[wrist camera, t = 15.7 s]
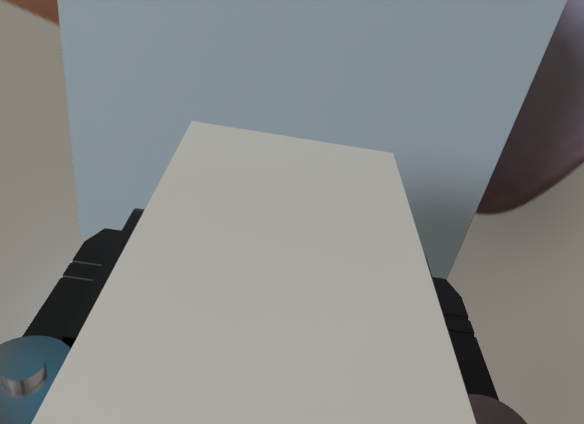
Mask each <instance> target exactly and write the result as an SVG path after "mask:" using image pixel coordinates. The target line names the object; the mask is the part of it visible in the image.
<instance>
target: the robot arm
mask: <svg viewBox="0 0 584 424" xmlns="http://www.w3.org/2000/svg"><path fill="white" fill-rule="evenodd" d="M144 210H145V209H139V208H135V209H134V210H133V211H132V213H131V215H130V217H129V218H128V220H127V222H126V224H125V225H124V227H123V229H122V231H121V230H114V229H107V228H104V229H103V230H101V231H100V232H98V233H97V234H95V235H94V236H92V237H91V238H89V239H88V240H86V241H85V242H84V243H83V245H82V246H81V248H80V249H79V251H78V252H77V254H76V256H75V257H74V259H73V262H72V263H70V265H69V266H68V268H67V269H66V271H65V272H64V274H63V278H61V279H60V280H59V281H58V283H57V284H56V286H55V287H54V289H53V291H52V292H51V294H50V295H49V297H48V298H47V300H46V301H45V303H44V304H43V306H42V307H41V309H40V310H39V312H38V313H37V315H36V316H35V318H34V320H33V321H32V323H31V324H30V326H29V327H28V329H27V330H26V332H25V333H24V335H23V336H22V337H20V338H16V339H12V340H10V341H7V342H4V343H2V344H0V424H31V423H32V421H33V420H34V418H35V416H36V414H37V412H38V410H39V408H40V406H41V404H42V403H43V401H44V399H45V397H46V395H47V393H48V391H49V389H50V387H51V386H52V384H53V382H54V380H55V378H56V376H57V374H58V372H59V371H60V369H61V367H62V365H63V363H64V361H65V359H66V357H67V355H68V354H69V352H70V350H71V348H72V346H73V344H74V342H75V340H76V338H77V337H78V335H79V333H80V331H81V329H82V327H83V325H84V323H85V321H86V320H87V318H88V316H89V314H90V312H91V310H92V308H93V306H94V304H95V303H96V301H97V299H98V297H99V295H100V293H101V291H102V289H103V288H104V286H105V284H106V282H107V280H108V278H109V276H110V274H111V272H112V271H113V269H114V267H115V265H116V263H117V261H118V259H119V257H120V255H121V254H122V252H123V250H124V248H125V246H126V244H127V242H128V240H129V238H130V237H131V235H132V233H133V231H134V229H135V227H136V225H137V223H138V221H139V220H140V218H141V216H142V214H143V212H144ZM424 255H425V253H424ZM425 258H426V255H425ZM426 262H427V265H428V268H429V264H428V261H427V258H426ZM429 271H430V268H429ZM430 275H431V278H432V281H433V284H434V288H435V291H436V294H437V297H438V301H439V304H440V307H441V310H442V314H443V317H444V320H445V323H446V327H447V330H448V333H449V336H450V340H451V343H452V346H453V349H454V353H455V356H456V359H457V362H458V366H459V369H460V372H461V375H462V379H463V382H464V385H465V388H466V392H467V395H468V398H469V401H470V405H471V408H472V411H473V414H474V418H475V421H476V424H527V423H526V422H525V421H524V420H523V418H522V417H521V416H520V415H518V413H516V412H515V411H514V410H513V409H511V408H510V407H509V406H507V405H506V404H504V403H502V402H500V401H499V399H498V396H497V393H496V391H495V388H494V385H493V382H492V380H491V377H490V375H489V372H488V369H487V366H486V363H485V361H484V358H483V355H482V352H481V350H480V347H479V345H478V342H477V339H476V337H474V331H473V328H472V325H471V322H470V321H468V314H467V312H466V309H465V306H464V303H463V301H462V298H461V296H460V295H459V294H458V293H457V292H456V291H455V289H454V288H453V287H452V286H451V285H450V284H449V283H448V282H447V280H446V279H443V278H436V277H432V274H431V271H430Z"/></svg>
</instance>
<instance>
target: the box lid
mask: <svg viewBox="0 0 584 424" xmlns="http://www.w3.org/2000/svg"><path fill="white" fill-rule="evenodd" d="M57 1H58V12H59V22H60V31H61V43H62V52H63V64H64V73H65V85H66V94H67V105H68V116H69V127H70V137H71V147H72V158H73V168H74V178H75V189H76V199H77V210H78V221H79V231H80V236H84V237H92V236H94V235H95V234H97V233H98V232H100V231H101V230H103V229H104V228H107V229H114V230H121V231H122V229H123V227H124V225H125V224H126V222H127V220H128V218H129V217H130V215H131V213H132V211H133V210H134V209H135V208H139V209H145V208H146V206H147V205H148V203H149V201H150V199H151V197H152V195H153V193H154V191H155V189H156V188H157V186H158V184H159V182H160V180H161V178H162V176H163V174H164V172H165V171H166V169H167V167H168V165H169V163H170V161H171V159H172V157H173V155H174V154H175V152H176V150H177V148H178V146H179V144H180V142H181V140H182V138H183V137H184V135H185V133H186V131H187V129H188V127H189V125H190V123H191V122H192V121H196V122H202V123H208V124H215V125H221V126H227V127H233V128H240V129H246V130H252V131H259V132H265V133H271V134H277V135H284V136H290V137H296V138H302V139H309V140H315V141H321V142H327V143H334V144H340V145H346V146H353V147H359V148H365V149H371V150H378V151H384V152H390V153H393V154H394V158H395V161H396V164H397V167H398V171H399V174H400V177H401V180H402V184H403V187H404V190H405V193H406V197H407V200H408V203H409V206H410V210H411V213H412V216H413V219H414V223H415V226H416V229H417V232H418V236H419V239H420V242H421V245H422V249H423V252H424V253H425V255H426V258H427V261H428V264H429V268H430V271H431V274H432V277H436V278H443V279H447V277H448V275H449V273H450V270H451V268H452V266H453V263H454V261H455V259H456V256H457V254H458V252H459V249H460V247H461V245H462V242H463V240H464V238H465V236H466V233H467V231H468V229H469V226H470V224H471V222H472V219H473V217H474V215H475V212H476V210H477V208H478V205H479V203H480V201H481V199H482V196H483V194H484V192H485V189H486V187H487V185H488V182H489V180H490V178H491V175H492V173H493V171H494V168H495V166H496V164H497V162H498V159H499V157H500V155H501V152H502V150H503V148H504V145H505V143H506V141H507V138H508V136H509V134H510V131H511V129H512V127H513V125H514V122H515V120H516V118H517V115H518V113H519V111H520V108H521V106H522V104H523V101H524V99H525V97H526V94H527V92H528V90H529V88H530V85H531V83H532V81H533V78H534V76H535V74H536V71H537V69H538V67H539V64H540V62H541V60H542V57H543V55H544V53H545V51H546V48H547V46H548V44H549V41H550V39H551V37H552V34H553V32H554V30H555V27H556V25H557V23H558V21H559V18H560V16H561V14H562V11H563V9H564V7H565V4H566V2H567V0H57Z"/></svg>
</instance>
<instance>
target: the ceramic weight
mask: <svg viewBox="0 0 584 424" xmlns="http://www.w3.org/2000/svg"><path fill="white" fill-rule="evenodd" d="M31 424H476V421H475V418H474V414H473V411H472V408H471V405H470V401H469V398H468V395H467V392H466V388H465V385H464V382H463V379H462V375H461V372H460V369H459V366H458V362H457V359H456V356H455V353H454V349H453V346H452V343H451V340H450V336H449V333H448V330H447V327H446V323H445V320H444V317H443V314H442V310H441V307H440V304H439V301H438V297H437V294H436V291H435V288H434V284H433V281H432V278H431V275H430V271H429V268H428V265H427V262H426V258H425V255H424V252H423V249H422V245H421V242H420V239H419V236H418V232H417V229H416V226H415V223H414V219H413V216H412V213H411V210H410V206H409V203H408V200H407V197H406V193H405V190H404V187H403V184H402V180H401V177H400V174H399V171H398V167H397V164H396V161H395V158H394V154H393V153H390V152H384V151H378V150H371V149H365V148H359V147H353V146H346V145H340V144H334V143H327V142H321V141H315V140H309V139H302V138H296V137H290V136H284V135H277V134H271V133H265V132H259V131H252V130H246V129H240V128H233V127H227V126H221V125H215V124H208V123H202V122H196V121H192V122H191V123H190V125H189V127H188V129H187V131H186V133H185V135H184V137H183V138H182V140H181V142H180V144H179V146H178V148H177V150H176V152H175V154H174V155H173V157H172V159H171V161H170V163H169V165H168V167H167V169H166V171H165V172H164V174H163V176H162V178H161V180H160V182H159V184H158V186H157V188H156V189H155V191H154V193H153V195H152V197H151V199H150V201H149V203H148V205H147V206H146V208H145V210H144V212H143V214H142V216H141V218H140V220H139V221H138V223H137V225H136V227H135V229H134V231H133V233H132V235H131V237H130V238H129V240H128V242H127V244H126V246H125V248H124V250H123V252H122V254H121V255H120V257H119V259H118V261H117V263H116V265H115V267H114V269H113V271H112V272H111V274H110V276H109V278H108V280H107V282H106V284H105V286H104V288H103V289H102V291H101V293H100V295H99V297H98V299H97V301H96V303H95V304H94V306H93V308H92V310H91V312H90V314H89V316H88V318H87V320H86V321H85V323H84V325H83V327H82V329H81V331H80V333H79V335H78V337H77V338H76V340H75V342H74V344H73V346H72V348H71V350H70V352H69V354H68V355H67V357H66V359H65V361H64V363H63V365H62V367H61V369H60V371H59V372H58V374H57V376H56V378H55V380H54V382H53V384H52V386H51V387H50V389H49V391H48V393H47V395H46V397H45V399H44V401H43V403H42V404H41V406H40V408H39V410H38V412H37V414H36V416H35V418H34V420H33V421H32V423H31Z"/></svg>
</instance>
